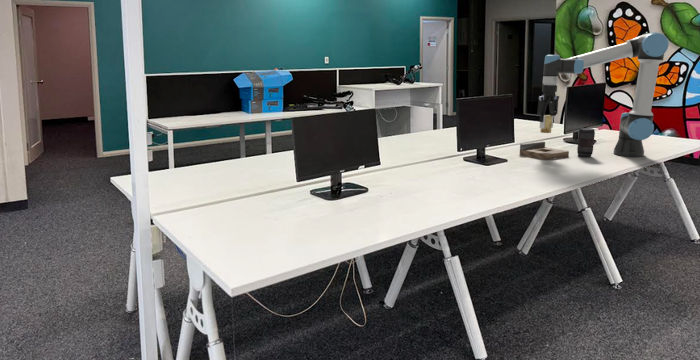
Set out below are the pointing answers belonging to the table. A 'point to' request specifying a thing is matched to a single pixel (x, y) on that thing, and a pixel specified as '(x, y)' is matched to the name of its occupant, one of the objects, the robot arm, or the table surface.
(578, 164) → the table surface
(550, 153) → the plate
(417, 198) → the table surface
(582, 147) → the camera lens
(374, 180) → the table surface
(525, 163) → the table surface
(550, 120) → the brass sleeve
